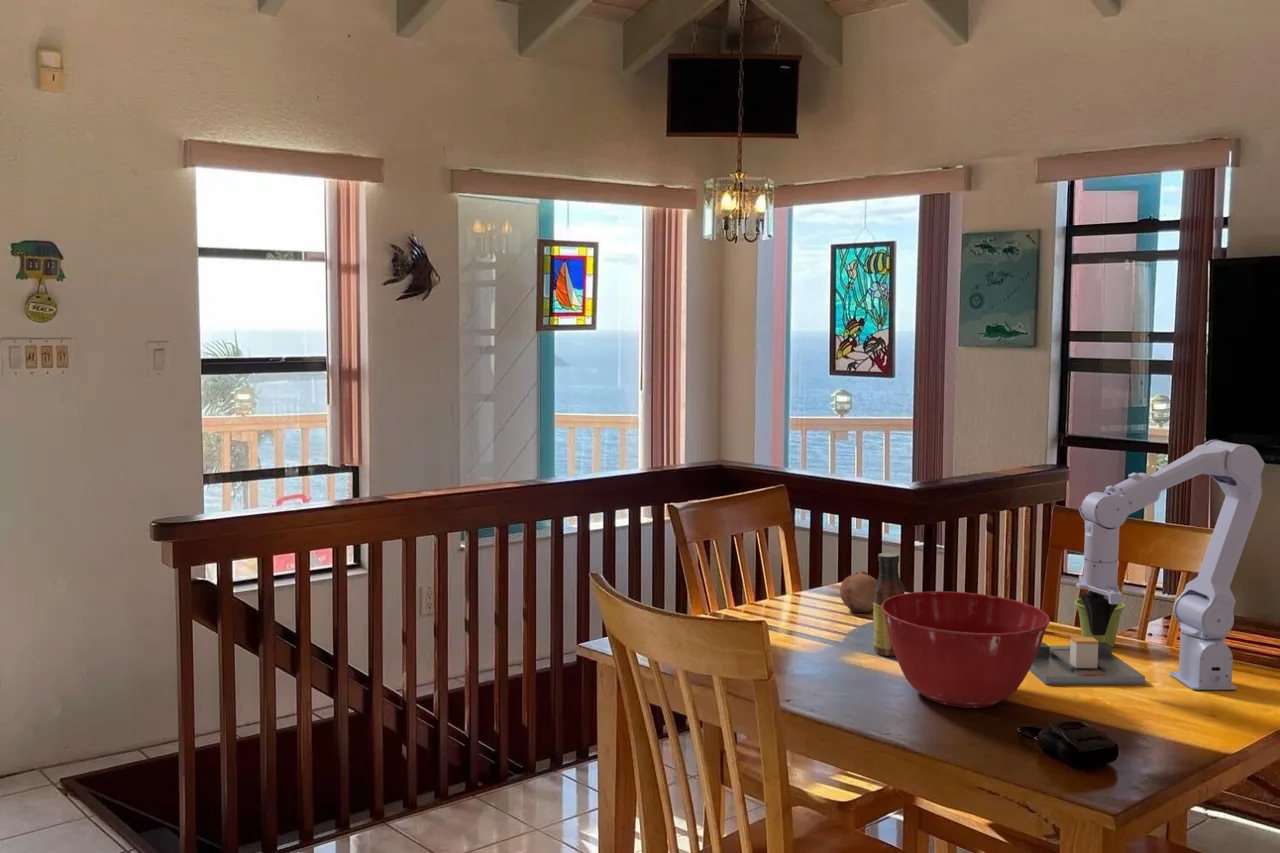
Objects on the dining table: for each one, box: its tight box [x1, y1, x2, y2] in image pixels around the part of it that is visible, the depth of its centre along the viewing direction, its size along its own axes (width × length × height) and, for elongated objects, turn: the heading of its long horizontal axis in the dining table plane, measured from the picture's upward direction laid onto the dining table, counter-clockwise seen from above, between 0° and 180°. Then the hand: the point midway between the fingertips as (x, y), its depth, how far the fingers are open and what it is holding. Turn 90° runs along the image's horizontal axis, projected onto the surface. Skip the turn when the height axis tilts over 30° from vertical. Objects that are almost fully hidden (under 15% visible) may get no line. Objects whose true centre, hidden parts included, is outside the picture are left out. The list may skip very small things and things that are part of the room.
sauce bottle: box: [872, 552, 906, 657], centre depth 230 cm, size 7×6×20 cm
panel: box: [1029, 641, 1146, 686], centre depth 221 cm, size 20×18×4 cm
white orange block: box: [1069, 636, 1098, 668], centre depth 217 cm, size 3×4×5 cm
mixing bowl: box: [881, 590, 1051, 709], centre depth 204 cm, size 28×28×15 cm
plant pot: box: [1074, 598, 1126, 648], centre depth 237 cm, size 9×9×9 cm
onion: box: [839, 570, 878, 615], centre depth 263 cm, size 10×9×10 cm
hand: (1097, 634), depth 210 cm, fingers closed
